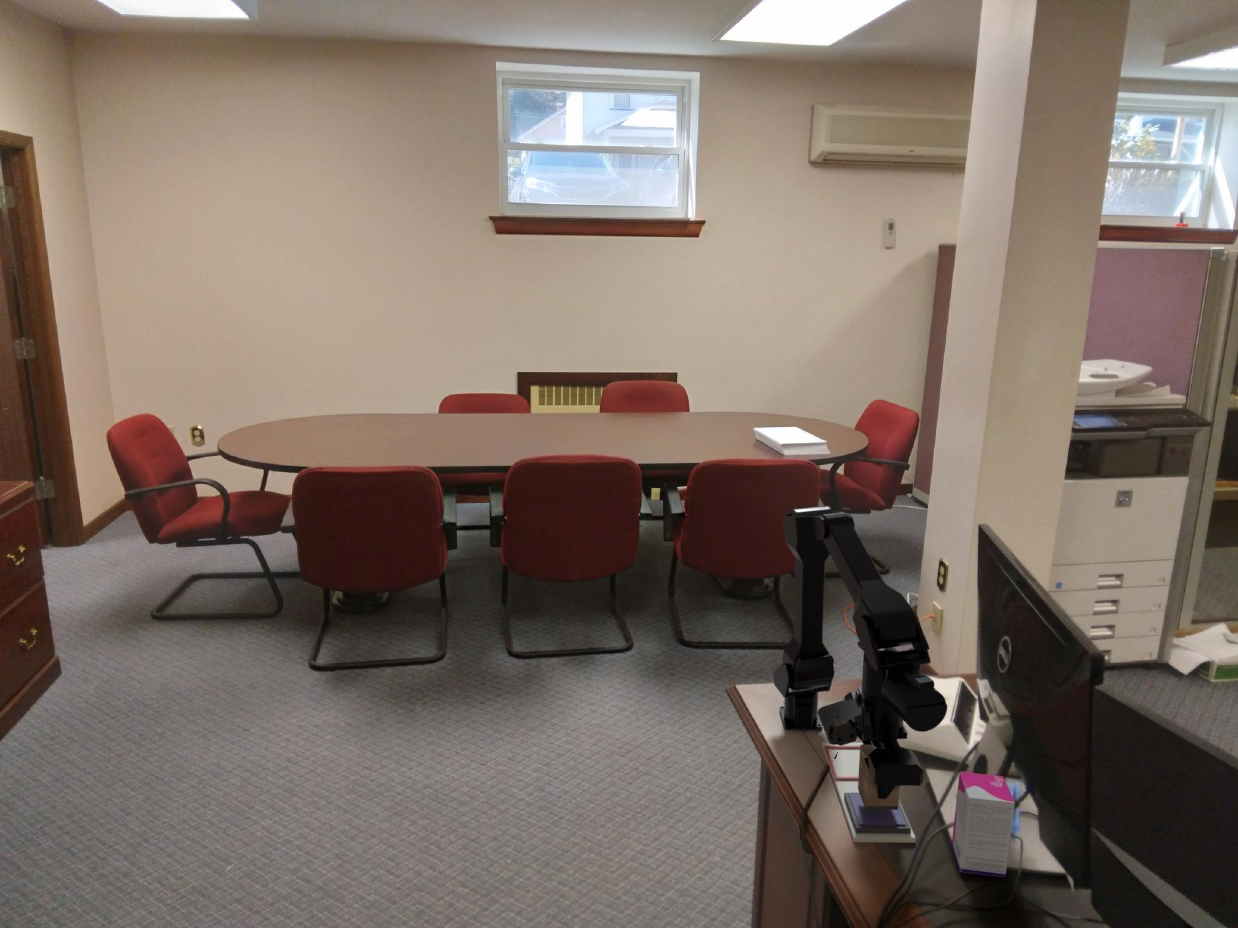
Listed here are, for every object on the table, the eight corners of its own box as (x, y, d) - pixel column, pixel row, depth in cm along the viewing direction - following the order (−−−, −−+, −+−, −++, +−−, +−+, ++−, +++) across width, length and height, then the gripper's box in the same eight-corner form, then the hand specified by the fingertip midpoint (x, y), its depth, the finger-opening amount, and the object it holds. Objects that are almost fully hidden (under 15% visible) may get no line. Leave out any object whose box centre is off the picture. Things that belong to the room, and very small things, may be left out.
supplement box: (1007, 878, 102) (1016, 803, 99) (959, 872, 103) (966, 798, 100) (996, 846, 108) (1004, 774, 105) (950, 841, 109) (956, 769, 106)
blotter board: (822, 746, 131) (822, 736, 130) (873, 746, 130) (874, 736, 130) (853, 841, 109) (854, 830, 109) (915, 842, 109) (916, 830, 108)
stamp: (857, 788, 115) (860, 744, 113) (889, 788, 115) (891, 744, 113) (865, 809, 111) (868, 764, 109) (898, 809, 110) (901, 764, 108)
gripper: (811, 656, 118) (808, 747, 122) (839, 729, 100) (834, 832, 104) (887, 656, 117) (881, 747, 121) (928, 729, 99) (920, 833, 103)
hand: (877, 786), depth 112 cm, fingers closed on stamp, 4 cm apart
